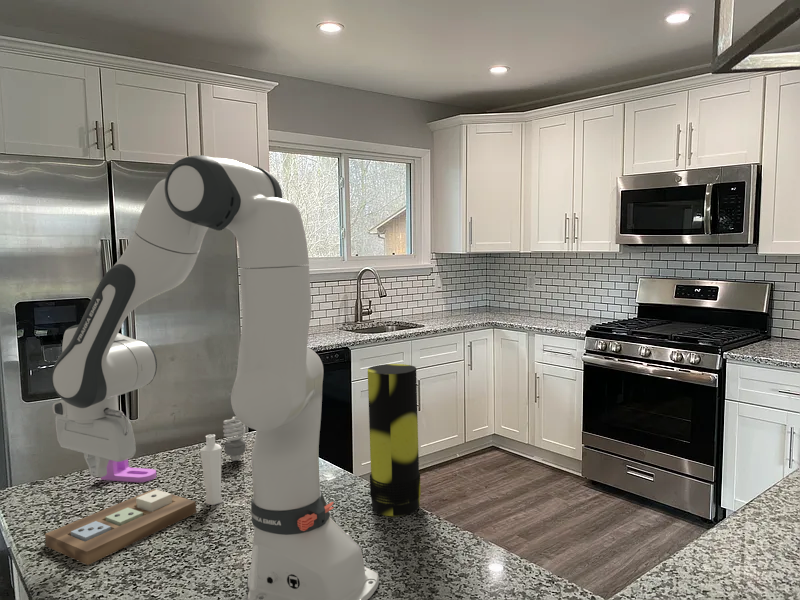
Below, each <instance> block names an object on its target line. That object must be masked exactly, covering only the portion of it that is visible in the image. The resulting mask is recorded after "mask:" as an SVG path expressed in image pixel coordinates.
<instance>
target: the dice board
mask: <svg viewBox="0 0 800 600" xmlns="http://www.w3.org/2000/svg"><path fill="white" fill-rule="evenodd" d="M154 490H157V489H156V488H153V489H151V490H148V491H146V492H143V493H141V494H139V495H136V496H134V497H131V498H129V499H127V500H124V501H122V502H119V503H117V504H114V505H112V506H109V507H107V508H105V509H101V510H100V511H96V512H95V513H93V514H90V515H88V516H85V517H82V518H80V519H77V520H75V521H72V522H71V523H67V524H66V525H64V526H61V527H58V528H57V529H54V530H51V531H49V532H46V533H44V536H45V537H44V538H45V547H47V548H49V549H51V550H53V551H54V552H55V551H56V552H57V553H60V554H63V555H64V556H67V557H68V558H71V559H72V560H76V561H78V562H80V563H82V564H85V565H87V566H89V565H91V564H94V563H95V562H97V561H99V560H102V559H103V558H105V557H108V556H110V555H112V554H114V553H116V552H118V551H120V550H122V549H124V548H126V547H129V546H131V545H132V544H135V543H136V542H139V541H141V540H143V539H146V538H148V537H149V536H151V535H153V534H155V533H157V532H159V531H162V530H163V529H166V528H168V527H170V526H171V525H174V524H176V523H178V522H180V521H183V520H184V519H187V518H188V517H191V516H192V515H195V514H196V513H197V503H196V501H195V500H191V499H189V498H186V497H182V496H178V495H175V494H172V503H171V504H168V505H166V506H164V507H162V508H159V509H157V510H155V511H153V512H149V511H146V510H143V509H140V508H137V503H136V498H137V497H140V496H142V495H145V494H147V493H150V492H152V491H154ZM125 508H131V509H134V510H137V511H140V512H143V516H141V517H139V518H137V519H135V520H132V521H130V522H128V523H126V524H123V525H121V526H118V525H115V524H112V523H110V522H107V521H106V520H105V517H106V516H109V515H111V514H113V513H116V512H118V511H121V510H123V509H125ZM95 521H97V522H100V523H102V524H105V525H108V526H110V527H111V530H110V531H108V532H105V533H103V534H101V535H99V536H97V537H94V538H92V539H90V540H88V541H85V542H84V541H82V540H80V539H77V538H75V537H72V536H71V531H73V530H76V529H78V528H80V527H83V526H85V525H87V524H90V523H92V522H95Z"/></svg>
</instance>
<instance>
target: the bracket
mask: <svg viewBox="0 0 800 600" xmlns="http://www.w3.org/2000/svg"><path fill="white" fill-rule="evenodd" d="M106 467H107V474H106V476H103V477H101V478H100V480H102V481H114V482H115V481H117V482H125V483H126V482H127V483H129V482H130V483H146V482H150V481H153V480H155V479H156V478H157V470H156V469H154V468H144V467H142V468H141V467H130V464H129V459H127V460H124V461H121V462H116V461H113V460H109V462H108V465H107V466H106Z"/></svg>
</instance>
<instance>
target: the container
mask: <svg viewBox="0 0 800 600" xmlns="http://www.w3.org/2000/svg"><path fill="white" fill-rule="evenodd" d="M417 380H418V378H417V367H416V366H414V365H411V364H406V363H405V364H404V363H403V364H402V363H387V364H386V363H385V364H378V365H373V366H370V367H368V368H367V389H368V390H367V393H368V422H369V423H368V424H369V426H368V429H369V451H370V456H369V458H370V474H369V491H370V494H369V495H370V498H371V507H372V509H373V511H374V512H376V513H377V514H379V515H382V516H385V517H405V516H407V515H411V514H413V513H414V512H416V511H417V510H419V508H420V506H421V505H420V504H421V501H420V500H421V496H422V495H421V494H422V493H421V492H422V491H421V489H422V488H421V474H420V473H421V472H420V463H419V462H420V461H419V460H420V458H419V425H418V424H419V423H418V422H419V421H418V420H419V418H418V386H417V385H418V384H417V382H418V381H417Z"/></svg>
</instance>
